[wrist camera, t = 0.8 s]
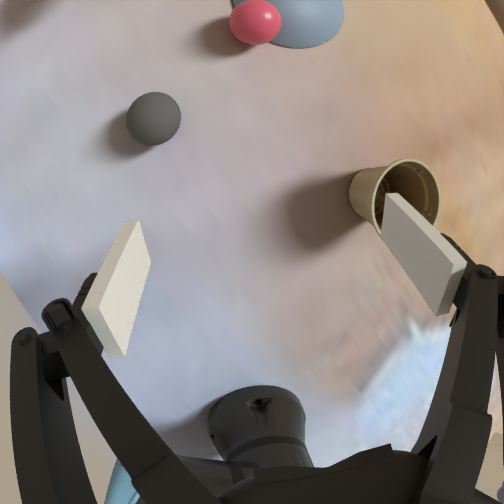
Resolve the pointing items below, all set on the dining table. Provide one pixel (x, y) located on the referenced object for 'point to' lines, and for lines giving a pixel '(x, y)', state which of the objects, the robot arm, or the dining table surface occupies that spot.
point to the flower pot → (396, 190)
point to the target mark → (306, 21)
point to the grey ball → (153, 118)
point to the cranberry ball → (255, 22)
